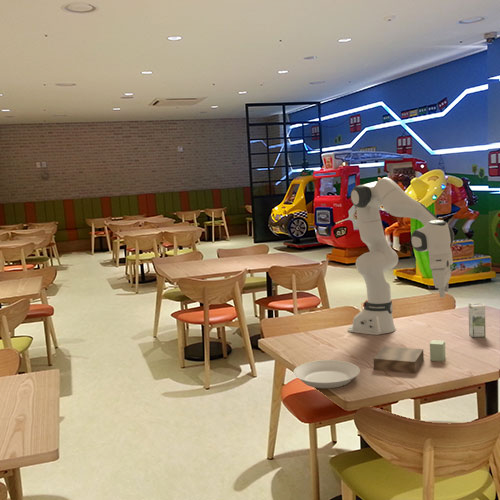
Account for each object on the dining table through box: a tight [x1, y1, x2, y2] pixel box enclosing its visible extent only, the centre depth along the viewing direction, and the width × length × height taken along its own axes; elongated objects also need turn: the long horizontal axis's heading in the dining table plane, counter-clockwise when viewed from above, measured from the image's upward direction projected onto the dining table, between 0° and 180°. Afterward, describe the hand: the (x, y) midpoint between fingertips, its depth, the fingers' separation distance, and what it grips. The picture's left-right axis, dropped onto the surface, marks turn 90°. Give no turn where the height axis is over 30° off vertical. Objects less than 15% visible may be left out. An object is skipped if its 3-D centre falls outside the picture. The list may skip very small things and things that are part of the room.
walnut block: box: [372, 346, 425, 374], centre depth 229 cm, size 16×16×5 cm
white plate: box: [292, 359, 361, 389], centre depth 219 cm, size 25×25×4 cm
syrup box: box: [468, 302, 487, 338], centre depth 258 cm, size 6×6×14 cm
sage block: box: [429, 339, 446, 362], centre depth 232 cm, size 5×5×7 cm
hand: (444, 294), depth 233 cm, fingers open, 8 cm apart
